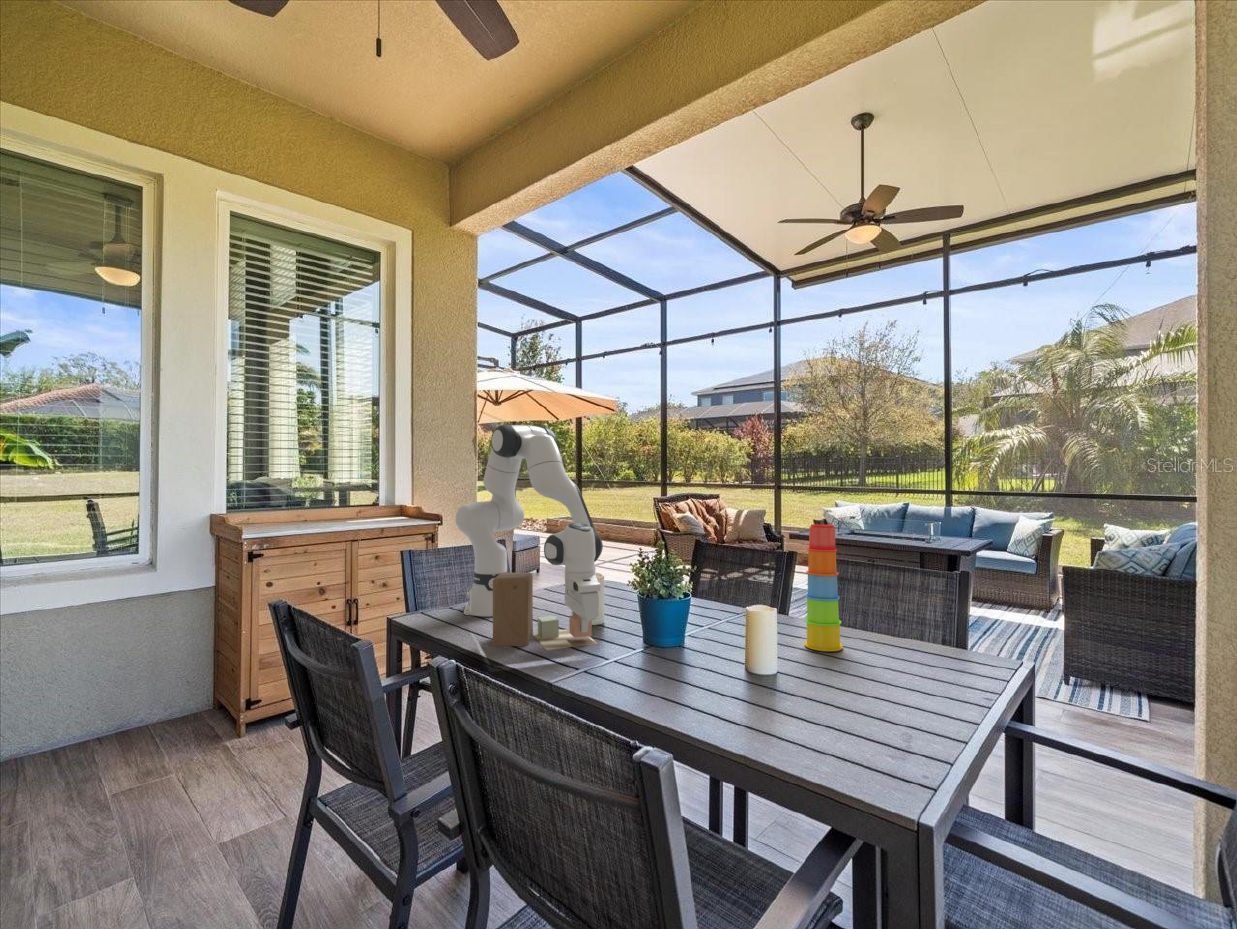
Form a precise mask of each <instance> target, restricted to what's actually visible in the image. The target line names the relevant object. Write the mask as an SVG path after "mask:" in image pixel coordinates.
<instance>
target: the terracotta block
mask: <svg viewBox="0 0 1237 929" xmlns="http://www.w3.org/2000/svg"><path fill="white" fill-rule="evenodd" d="M581 621H582V620H581V617H580V616H579V615H572V614H571V615H569V624H568V625H569V629H570V634H571V635H572V636H573V637H575V638H577V637H586V636H590V637H592V636H593V635H592V633H593V631H592V630H593V629H592V628H593V626H592V625H593V623H592V621H593V620H591V621H589V624H588V631H587V632H581V631H580V625H581Z"/></svg>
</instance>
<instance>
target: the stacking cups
mask: <svg viewBox="0 0 1237 929" xmlns="http://www.w3.org/2000/svg"><path fill="white" fill-rule="evenodd" d="M834 526H835V525H834V524H826V523H825V524H823V523H822V524H819V523H815V524H813V523H811V524H810V526H809V531H808V532H809V533H808V534H809V537H808V538H809V539H808V540H809V541H808V542H809V544H808V547H807V548H806V549H807V551H808V554H807V556H808V557H807V558H808V562H807V564H808V567H807V568H808V570H806V571H805V573H806V574H807V594H805V598H806V604H807V605H806V614H807V615H806V618H805V619H804V623H806V641H805V642H804V646H805V647H806V648H807V649H811V650H813V651H819V652H828V653H829V652H831V653H832V652H839V651H841V650H843V649H844V646H843V645H842V644H841V630H840V629H841V628H840V625H841V624H842V621H841V620H840V615H839V614H840V613H839V611H840V610H839V600H840V596H839V595H838V592H839V590H838V575H839V572H838V571H837V551H838V549H837V547H836V527H834Z"/></svg>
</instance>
